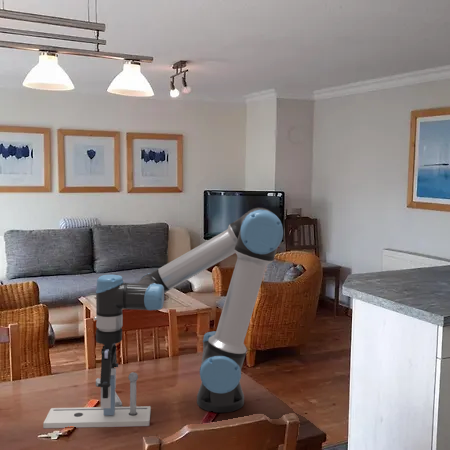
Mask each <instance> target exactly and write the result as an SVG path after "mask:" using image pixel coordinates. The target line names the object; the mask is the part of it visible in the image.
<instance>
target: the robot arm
mask: <svg viewBox="0 0 450 450" xmlns="http://www.w3.org/2000/svg"><path fill="white" fill-rule="evenodd" d="M283 238H284V228H283V223H282V221H281V219H280V218H279V217H278V216H277V215H276V214H275V213H274V212H272V211H271V210H270V209H268V208H264V207H255V208H252V209H250V210H248V211H247V212H246V213H244V214H242V216H241V217H239V218H238V219H237V220H234V221H233V222H231V223H229V225H228V227H227V229H225V230H224V231H222V232H221V233H219V234H216V235H215V236H213V237H212V238H210V239H208V240H206V241H204V242H202V243H201V244H199V245H197V246H196V247H194V248H193V249H190V250H189V251H187V252H185V253H184V254H182V255H180V256H178V257H176V258H175V259H173V260H171V261H169V262H167V263H166V264H164V265H163V266H161V267H159V268H158V269H156V270H154V271H153V272H149V273H146V274H144V275H143V276H142V277H141V278H140V280H139V281H138V282H137V283H132V282H131V283H130V282H129V283H128V282H124V278H123V276H122V275H118V274H117V275H116V274H104V275H100V276H99V277H98V278H97V279H96V290H95V296H96V297H95V298H96V299H95V300H96V304H95V305H96V306H95V307H96V312H95V313H96V315H95V316H94V318H93V320H95V321H96V323H95V324H96V325H95V326H96V329H95V341H96V343H98V344H101V345H102V348H101V351H100V353H101V365H100V366H101V367H100V378H99V379H100V384H98V386H97V388H100V407H101V408H111V385H110V379H111V375H115V390H116V388H117V387H116V386H117V368H119V362H118V360H117V344H119V343H120V342H122V340H123V328H122V327H123V309H124V310H141V311H142V310H143V311H157V310H161V309H163V307H164V303H165V293H167V292H169V291H170V290H171V289H173V288H175V287H177V286H179V285H181V284H183V283H184V282H186V281H188V280H190V279H191V278H193V277H195V276H197V275H199V274H200V273H202V272H204V271H206V270H208V269H209V268H211V267H213V266H215V265H216V264H218V263H220V262H221V261H223V260H225V259H227V258H229V257H230V256H232V255H234V254H236V256H237V257H236V258H237V259H236V262H235V265H234V269H233V272H232V275H231V278H230V282H229V285H228V289H227V293H226V297H225V300H224V303H223V305H222V310H221V314H220V317H219V320H218V324H217V328H216V331H207V332H205V333H204V335H203V340H202V343H203V345H202V346H203V347H202V357H201V358H202V359H201V365H200V367H199V377H200V380H201V383H200V386H199V388H198V391H197V395H196V404H197V406H198V407H199V408H200V409H203V410H205V411H207V412H211V411H213V412H212V413H221V414H222V413H231V412H235V411H237V410H240V409H241V408H243V406H244V405H245V395H244V391H243V389H242V385H241V379H242V368H243V364H244V361H245V358H246V354H247V351H248V350H247V347H246V345H245V339H246V336H247V332H248V329H249V325H250V322H251V319H252V315H253V312H254V308H255V306H256V301H257V298H258V295H259V292H260V288H261V285H262V281H263V278H264V275H265V273H266V268H267V266H268V265H269V264H272V263H273V262H274V259H275V257H276V254H277V250H278V247H279V246H280V245H281V243H282V242H283V241H282V240H283Z"/></svg>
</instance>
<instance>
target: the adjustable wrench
mask: <svg viewBox="0 0 450 450" xmlns="http://www.w3.org/2000/svg"><path fill="white" fill-rule="evenodd" d="M100 379H101V378H100V377H97V378H96V379H95V387H98V384H100ZM115 407H123V402H122V400H121V398H120V397H119V395H118V394H117V392H116V391H115Z"/></svg>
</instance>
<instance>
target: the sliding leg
mask: <svg viewBox="0 0 450 450" xmlns="http://www.w3.org/2000/svg"><path fill="white" fill-rule="evenodd" d="M110 385H111V408H104V415H114V413H115V392H116V389H115V375H111V379H110Z"/></svg>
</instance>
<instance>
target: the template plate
mask: <svg viewBox="0 0 450 450" xmlns="http://www.w3.org/2000/svg"><path fill="white" fill-rule="evenodd" d="M138 378H139V376H138V373H137V372H133V371H132V372H130V373H129V375H128V381H129V393H130V394H129V406H122V407H115V413H114V415H104V408H101V406H98V407H97V406H96V407H95V406H94V407H90V406H89V407H87V406H86V407H51V408H50V410H49V411H48V413H47V416H46V418H45V419H44V421H43V423H42V424H43V425H42V426H43V427H42V428H43V429H63V428H64V429H66V428H65V427H68V426H69V427H70V426H74V427H76V428H115V427H116V428H117V427H118V428H119V427H150V422H151V412H152V410H151V409H152V408H151V407H152V406H151V405H149V406H146V405H145V406H141V405H140V406H137V381H138Z"/></svg>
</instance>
